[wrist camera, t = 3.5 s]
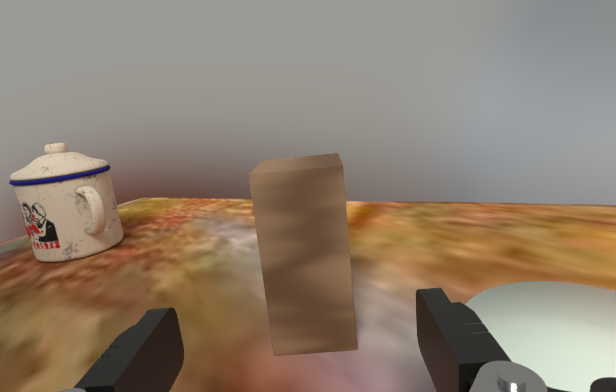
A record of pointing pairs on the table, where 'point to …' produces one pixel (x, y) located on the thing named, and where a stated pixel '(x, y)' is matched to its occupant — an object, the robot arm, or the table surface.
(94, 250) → the teacup with lid
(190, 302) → the table surface
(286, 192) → the walnut block
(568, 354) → the white plate
